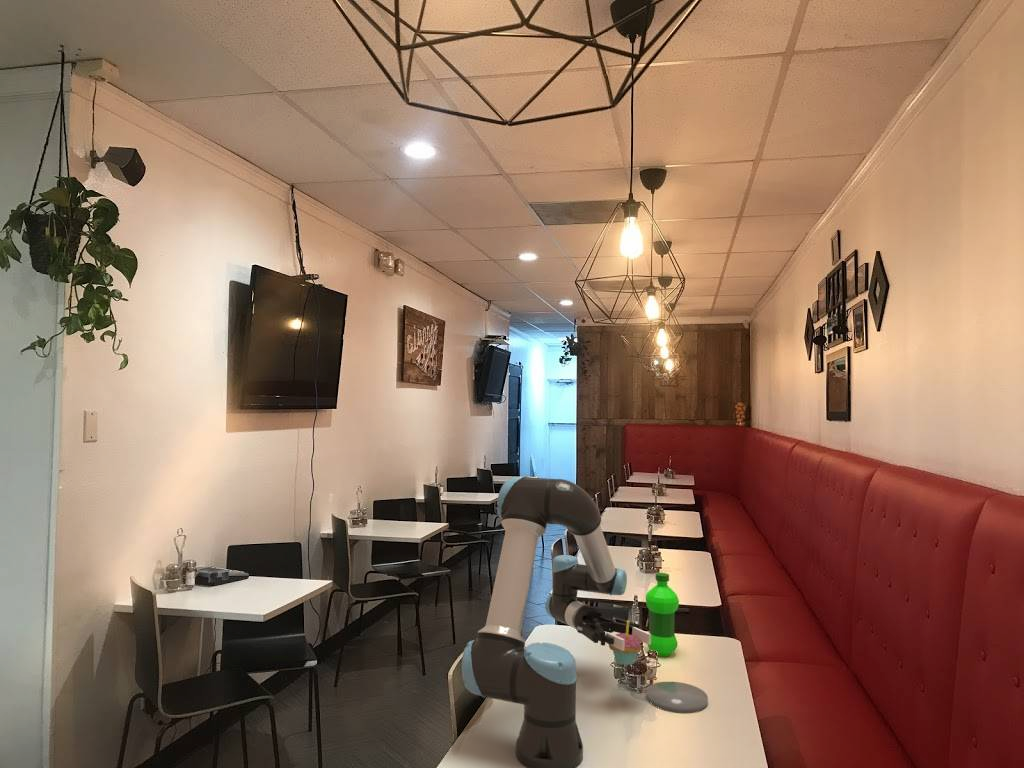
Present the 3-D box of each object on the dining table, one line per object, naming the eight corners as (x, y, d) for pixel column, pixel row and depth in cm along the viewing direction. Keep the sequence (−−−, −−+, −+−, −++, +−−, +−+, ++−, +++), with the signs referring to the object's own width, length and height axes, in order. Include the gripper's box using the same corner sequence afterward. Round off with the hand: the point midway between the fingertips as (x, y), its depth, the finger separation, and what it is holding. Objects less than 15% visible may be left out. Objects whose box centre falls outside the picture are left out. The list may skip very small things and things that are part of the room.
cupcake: (646, 665, 178) (647, 619, 178) (618, 669, 175) (618, 622, 176) (630, 654, 186) (630, 609, 186) (602, 657, 183) (602, 612, 184)
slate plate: (676, 718, 172) (676, 712, 172) (634, 694, 186) (634, 688, 186) (720, 704, 180) (720, 698, 181) (677, 682, 194) (677, 677, 194)
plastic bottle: (648, 645, 223) (649, 569, 224) (681, 651, 219) (682, 572, 220) (641, 656, 214) (642, 576, 215) (675, 661, 210) (675, 580, 211)
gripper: (612, 625, 202) (666, 649, 182) (553, 637, 191) (604, 664, 171) (612, 600, 202) (667, 621, 182) (553, 610, 191) (604, 634, 171)
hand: (636, 642), depth 177 cm, fingers closed on cupcake, 8 cm apart
